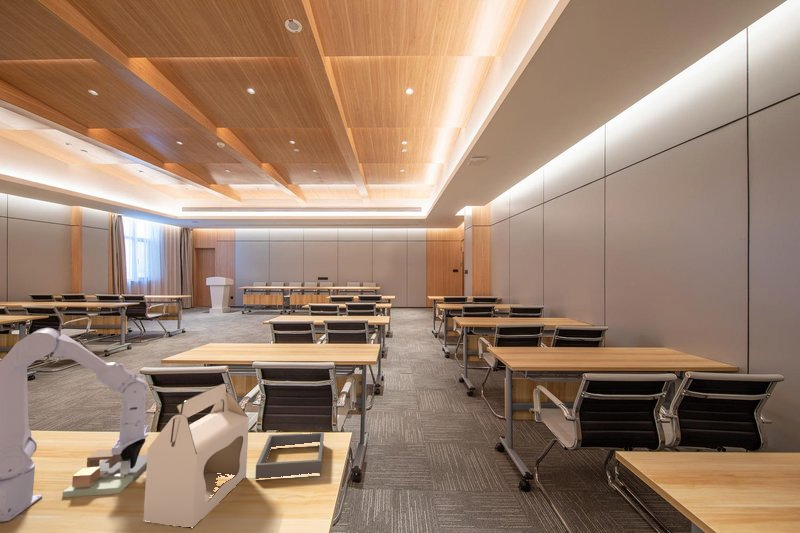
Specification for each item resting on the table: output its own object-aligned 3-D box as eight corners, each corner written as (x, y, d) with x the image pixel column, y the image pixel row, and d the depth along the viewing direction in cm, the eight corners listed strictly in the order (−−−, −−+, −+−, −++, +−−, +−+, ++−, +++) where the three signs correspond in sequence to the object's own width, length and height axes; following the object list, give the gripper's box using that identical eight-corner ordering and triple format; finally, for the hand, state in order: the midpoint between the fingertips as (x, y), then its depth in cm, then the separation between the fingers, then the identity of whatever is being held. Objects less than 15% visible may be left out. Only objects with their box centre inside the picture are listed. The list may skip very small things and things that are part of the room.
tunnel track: (119, 493, 92) (121, 468, 92) (62, 497, 89) (64, 472, 90) (154, 458, 109) (156, 438, 110) (108, 461, 107) (109, 440, 107)
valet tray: (320, 476, 102) (321, 461, 103) (255, 481, 99) (256, 465, 99) (323, 445, 122) (323, 432, 122) (268, 448, 118) (269, 435, 118)
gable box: (206, 472, 103) (211, 378, 104) (246, 476, 101) (251, 381, 103) (141, 523, 81) (148, 404, 82) (191, 530, 79) (198, 408, 81)
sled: (116, 486, 92) (117, 470, 92) (71, 489, 90) (73, 472, 90) (133, 471, 99) (134, 455, 100) (92, 473, 98) (93, 458, 98)
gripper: (133, 430, 93) (130, 481, 93) (160, 410, 108) (157, 454, 107) (104, 431, 92) (100, 483, 92) (135, 411, 106) (132, 455, 106)
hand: (129, 467), depth 99 cm, fingers closed
